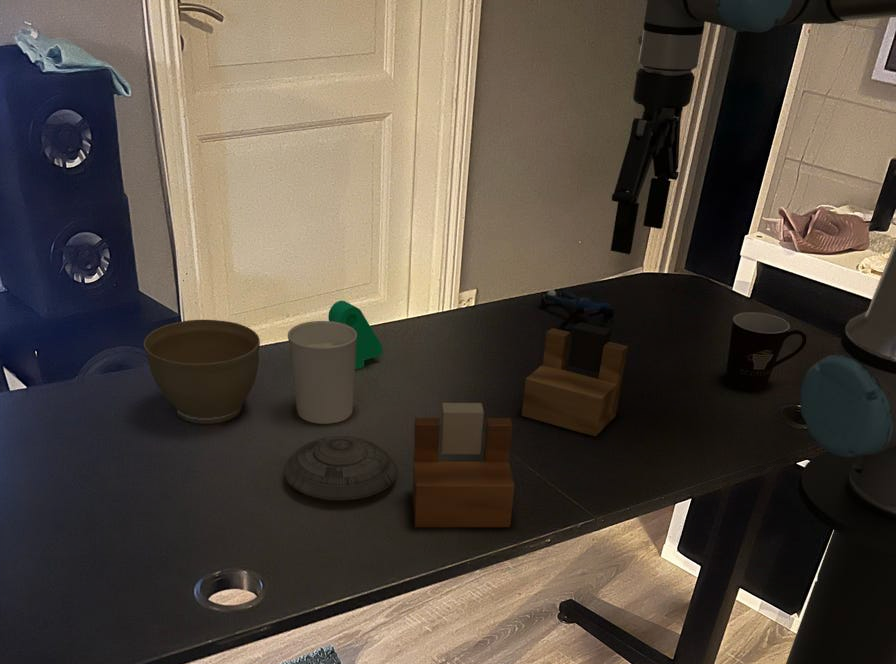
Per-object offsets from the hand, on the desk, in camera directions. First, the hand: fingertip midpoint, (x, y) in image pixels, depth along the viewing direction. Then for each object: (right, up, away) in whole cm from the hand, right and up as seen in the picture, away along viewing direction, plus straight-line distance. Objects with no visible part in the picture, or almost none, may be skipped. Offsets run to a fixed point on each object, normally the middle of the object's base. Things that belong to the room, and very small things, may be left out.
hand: (637, 239), depth 139 cm
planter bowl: (-62, -24, +5) cm, 67 cm away
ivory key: (-26, -33, -15) cm, 45 cm away
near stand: (-26, -41, -14) cm, 50 cm away
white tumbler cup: (-45, -23, +6) cm, 51 cm away
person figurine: (-2, +1, +37) cm, 37 cm away
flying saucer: (-42, -36, -9) cm, 56 cm away
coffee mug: (+23, -16, +18) cm, 34 cm away
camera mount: (-44, -12, +20) cm, 50 cm away
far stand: (-9, -24, +7) cm, 26 cm away
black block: (-6, -16, +7) cm, 19 cm away
